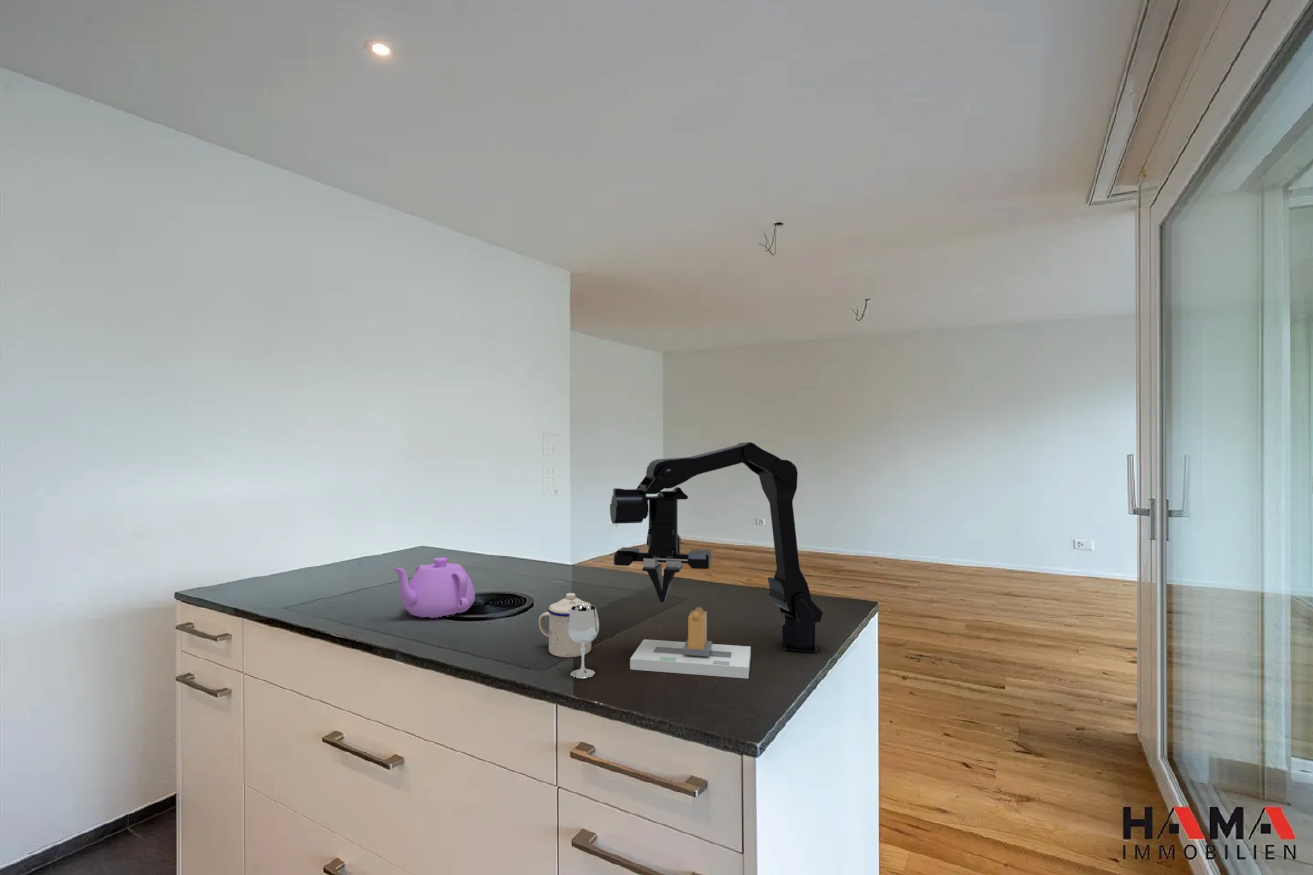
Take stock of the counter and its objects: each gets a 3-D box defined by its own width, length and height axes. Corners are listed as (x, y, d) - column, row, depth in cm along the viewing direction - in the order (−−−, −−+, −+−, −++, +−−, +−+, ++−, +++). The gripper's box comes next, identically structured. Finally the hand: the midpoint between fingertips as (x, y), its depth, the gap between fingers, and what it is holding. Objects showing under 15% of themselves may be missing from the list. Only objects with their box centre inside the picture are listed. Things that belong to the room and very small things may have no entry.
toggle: (711, 646, 116) (712, 606, 116) (708, 656, 110) (708, 614, 111) (687, 644, 117) (687, 605, 117) (682, 654, 111) (682, 613, 112)
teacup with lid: (599, 647, 123) (600, 591, 123) (578, 660, 115) (579, 600, 115) (550, 640, 127) (551, 586, 128) (526, 653, 119) (527, 595, 119)
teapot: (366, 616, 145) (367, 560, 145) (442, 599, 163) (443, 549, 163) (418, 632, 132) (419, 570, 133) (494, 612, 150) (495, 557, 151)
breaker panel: (750, 656, 118) (750, 645, 118) (748, 678, 106) (748, 666, 106) (643, 648, 122) (643, 638, 122) (630, 669, 110) (630, 658, 110)
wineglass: (568, 668, 110) (568, 604, 111) (598, 667, 111) (599, 603, 111) (565, 680, 105) (566, 612, 105) (598, 679, 105) (598, 611, 105)
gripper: (714, 519, 122) (713, 594, 122) (627, 517, 126) (626, 590, 125) (708, 525, 111) (708, 608, 111) (613, 522, 115) (612, 603, 114)
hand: (662, 601), depth 115 cm, fingers closed
